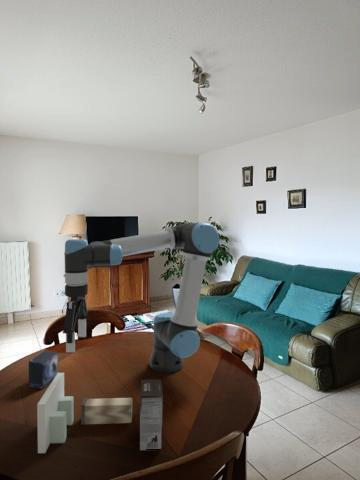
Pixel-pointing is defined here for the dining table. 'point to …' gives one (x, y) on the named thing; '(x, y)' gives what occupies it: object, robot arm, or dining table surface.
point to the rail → (106, 411)
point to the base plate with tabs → (54, 414)
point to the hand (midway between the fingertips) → (76, 343)
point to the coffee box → (151, 414)
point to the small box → (43, 369)
